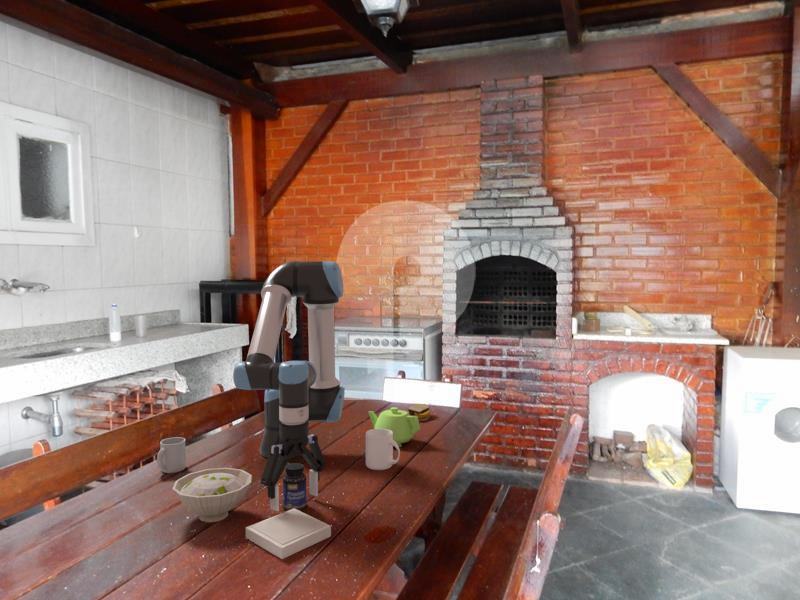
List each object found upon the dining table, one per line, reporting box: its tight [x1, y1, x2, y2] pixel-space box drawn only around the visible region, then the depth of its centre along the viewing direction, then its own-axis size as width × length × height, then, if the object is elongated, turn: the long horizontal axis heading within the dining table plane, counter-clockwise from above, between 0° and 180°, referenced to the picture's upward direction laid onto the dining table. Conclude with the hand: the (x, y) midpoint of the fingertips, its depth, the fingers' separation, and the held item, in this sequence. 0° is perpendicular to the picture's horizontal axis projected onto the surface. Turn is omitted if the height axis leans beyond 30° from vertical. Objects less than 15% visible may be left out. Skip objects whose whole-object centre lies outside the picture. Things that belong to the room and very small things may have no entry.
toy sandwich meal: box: [407, 403, 431, 423], centre depth 233 cm, size 12×14×5 cm
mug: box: [365, 428, 401, 471], centre depth 177 cm, size 9×12×11 cm
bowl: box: [171, 467, 253, 523], centre depth 142 cm, size 19×19×10 cm
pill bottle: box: [282, 462, 307, 511], centre depth 148 cm, size 6×6×11 cm
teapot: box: [368, 406, 421, 448], centre depth 201 cm, size 20×13×13 cm
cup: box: [156, 436, 187, 474], centre depth 173 cm, size 7×10×9 cm
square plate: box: [245, 508, 332, 560], centre depth 132 cm, size 14×14×3 cm
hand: (294, 501), depth 148 cm, fingers open, 12 cm apart
